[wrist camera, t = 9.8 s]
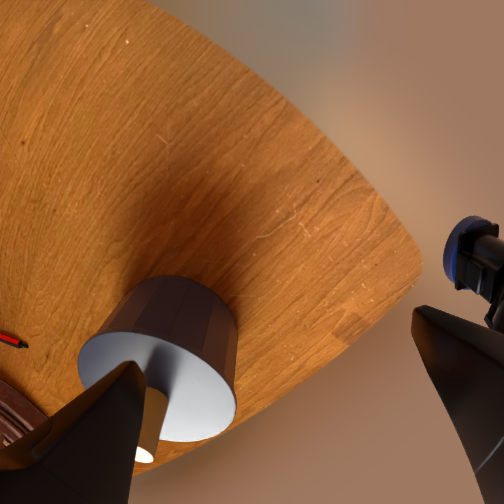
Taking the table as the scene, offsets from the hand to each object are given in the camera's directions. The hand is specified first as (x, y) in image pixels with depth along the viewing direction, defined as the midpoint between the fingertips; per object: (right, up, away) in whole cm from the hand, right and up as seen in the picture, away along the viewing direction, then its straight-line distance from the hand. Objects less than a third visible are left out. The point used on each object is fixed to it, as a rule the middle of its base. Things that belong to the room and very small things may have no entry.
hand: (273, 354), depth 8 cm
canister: (-7, -4, +15) cm, 17 cm away
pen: (-38, -8, +18) cm, 42 cm away
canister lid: (-7, -6, +8) cm, 13 cm away
